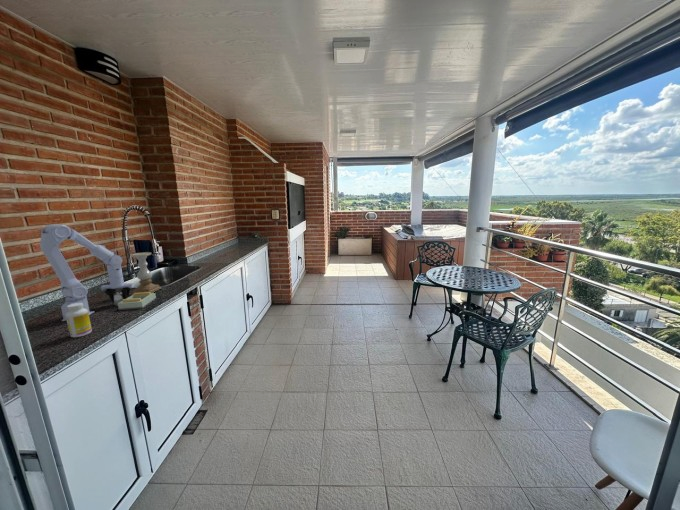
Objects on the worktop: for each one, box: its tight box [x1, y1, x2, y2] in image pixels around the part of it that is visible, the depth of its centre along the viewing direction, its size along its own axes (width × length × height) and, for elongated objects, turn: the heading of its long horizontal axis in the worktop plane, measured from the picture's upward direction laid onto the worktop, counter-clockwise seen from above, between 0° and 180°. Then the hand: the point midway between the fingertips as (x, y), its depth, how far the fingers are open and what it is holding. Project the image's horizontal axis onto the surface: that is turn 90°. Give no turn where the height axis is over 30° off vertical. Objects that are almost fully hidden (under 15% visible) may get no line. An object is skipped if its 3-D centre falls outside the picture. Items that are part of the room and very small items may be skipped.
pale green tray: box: [117, 292, 157, 311], centre depth 145 cm, size 14×11×5 cm
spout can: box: [113, 289, 124, 307], centre depth 146 cm, size 5×5×8 cm
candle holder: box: [130, 251, 162, 296], centre depth 163 cm, size 11×11×24 cm
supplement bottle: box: [66, 303, 93, 338], centre depth 111 cm, size 7×7×13 cm
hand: (120, 301), depth 146 cm, fingers closed on spout can, 5 cm apart
